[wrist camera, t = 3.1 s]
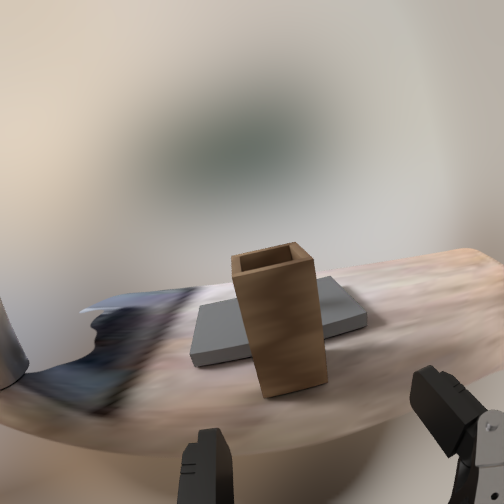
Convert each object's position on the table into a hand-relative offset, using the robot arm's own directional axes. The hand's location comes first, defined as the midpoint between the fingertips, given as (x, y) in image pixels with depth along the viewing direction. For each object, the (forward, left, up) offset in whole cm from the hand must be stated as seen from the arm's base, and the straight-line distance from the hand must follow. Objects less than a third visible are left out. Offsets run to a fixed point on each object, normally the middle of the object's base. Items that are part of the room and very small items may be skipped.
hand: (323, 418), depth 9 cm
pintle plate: (0, +20, -6) cm, 21 cm away
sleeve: (0, +11, -6) cm, 13 cm away
